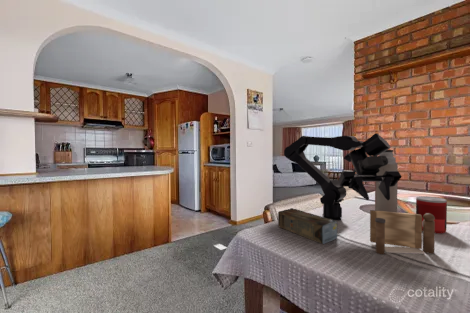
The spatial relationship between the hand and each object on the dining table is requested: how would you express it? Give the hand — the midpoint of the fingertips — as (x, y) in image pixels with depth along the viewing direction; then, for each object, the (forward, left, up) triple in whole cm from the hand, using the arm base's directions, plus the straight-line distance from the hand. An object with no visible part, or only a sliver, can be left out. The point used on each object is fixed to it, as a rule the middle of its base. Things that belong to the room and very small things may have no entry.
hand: (378, 199), depth 72 cm
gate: (+2, -8, -11) cm, 14 cm away
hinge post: (+9, -9, -12) cm, 18 cm away
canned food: (+19, +11, -12) cm, 26 cm away
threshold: (+3, -10, -12) cm, 16 cm away
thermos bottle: (+11, +28, -12) cm, 33 cm away
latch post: (-3, -13, -12) cm, 18 cm away
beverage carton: (-22, -2, -12) cm, 26 cm away
